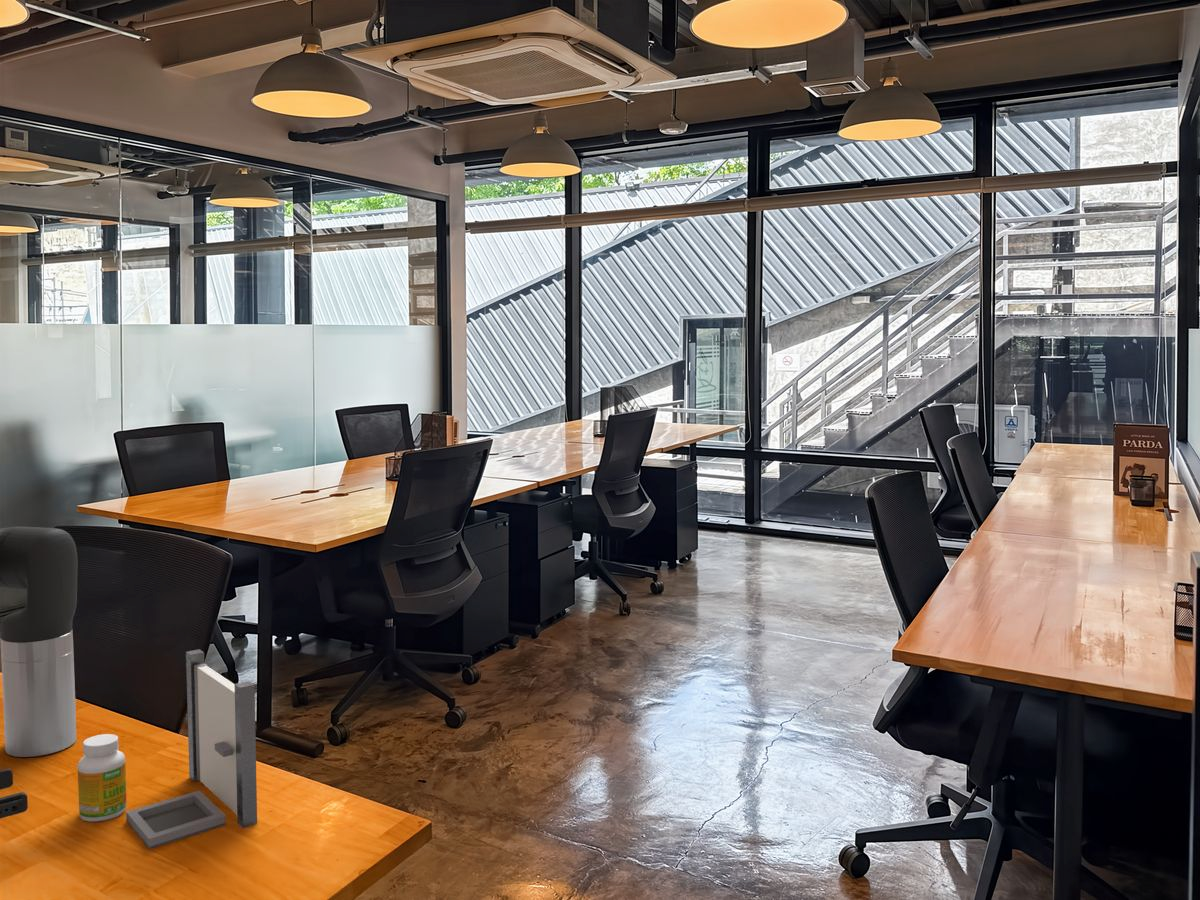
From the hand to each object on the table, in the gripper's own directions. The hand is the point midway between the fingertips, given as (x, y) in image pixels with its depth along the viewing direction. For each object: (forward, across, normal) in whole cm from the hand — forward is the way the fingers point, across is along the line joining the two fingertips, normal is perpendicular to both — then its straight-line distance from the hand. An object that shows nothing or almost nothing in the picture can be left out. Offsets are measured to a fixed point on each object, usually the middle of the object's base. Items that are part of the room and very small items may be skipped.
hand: (19, 788), depth 112 cm
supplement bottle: (+9, 0, +6) cm, 11 cm away
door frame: (+22, -7, +6) cm, 24 cm away
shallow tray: (+15, -9, +6) cm, 19 cm away
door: (+21, -6, +5) cm, 23 cm away
